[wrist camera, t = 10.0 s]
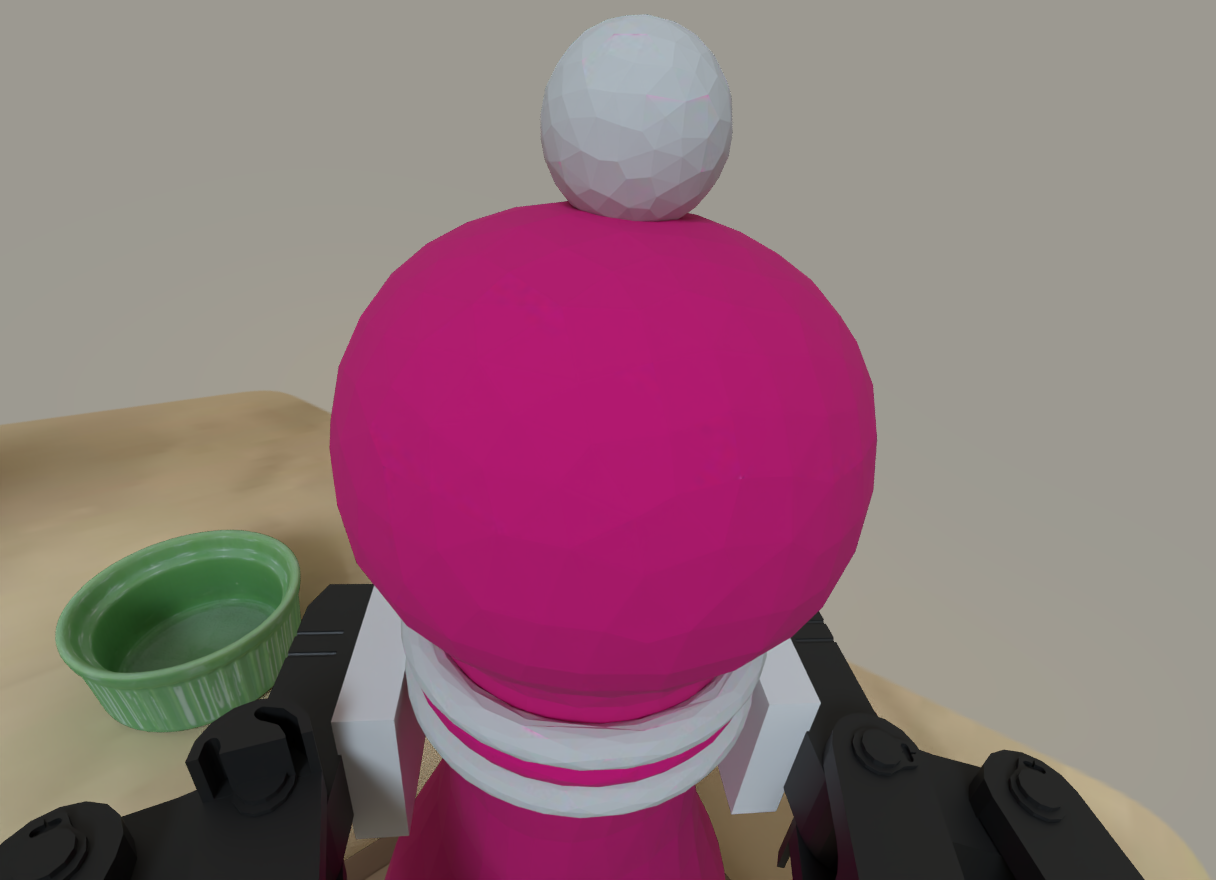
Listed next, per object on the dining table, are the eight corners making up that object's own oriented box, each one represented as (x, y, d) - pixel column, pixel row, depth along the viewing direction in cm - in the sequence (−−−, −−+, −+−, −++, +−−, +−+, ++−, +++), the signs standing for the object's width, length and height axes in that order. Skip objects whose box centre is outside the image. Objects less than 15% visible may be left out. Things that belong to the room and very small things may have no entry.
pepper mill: (609, 793, 19) (727, 64, 9) (752, 1080, 14) (1384, 68, 4) (371, 905, 16) (176, -20, 6) (436, 1335, 11) (-258, -534, 1)
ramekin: (345, 604, 32) (335, 541, 30) (241, 763, 25) (216, 693, 22) (186, 582, 33) (164, 517, 31) (33, 731, 25) (-11, 659, 23)
